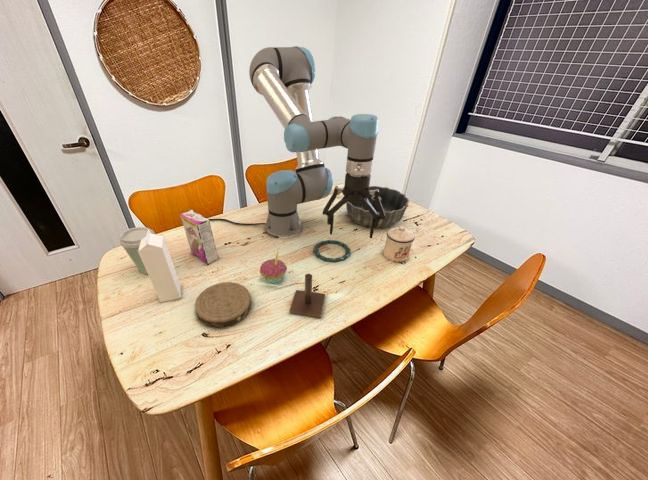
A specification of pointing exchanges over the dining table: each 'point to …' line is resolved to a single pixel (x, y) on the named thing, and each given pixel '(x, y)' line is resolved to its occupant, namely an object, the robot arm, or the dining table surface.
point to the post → (308, 301)
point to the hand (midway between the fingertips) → (350, 234)
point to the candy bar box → (199, 236)
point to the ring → (331, 258)
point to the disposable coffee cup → (134, 244)
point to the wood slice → (223, 305)
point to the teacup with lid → (398, 244)
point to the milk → (159, 267)
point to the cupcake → (273, 270)
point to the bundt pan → (391, 204)
